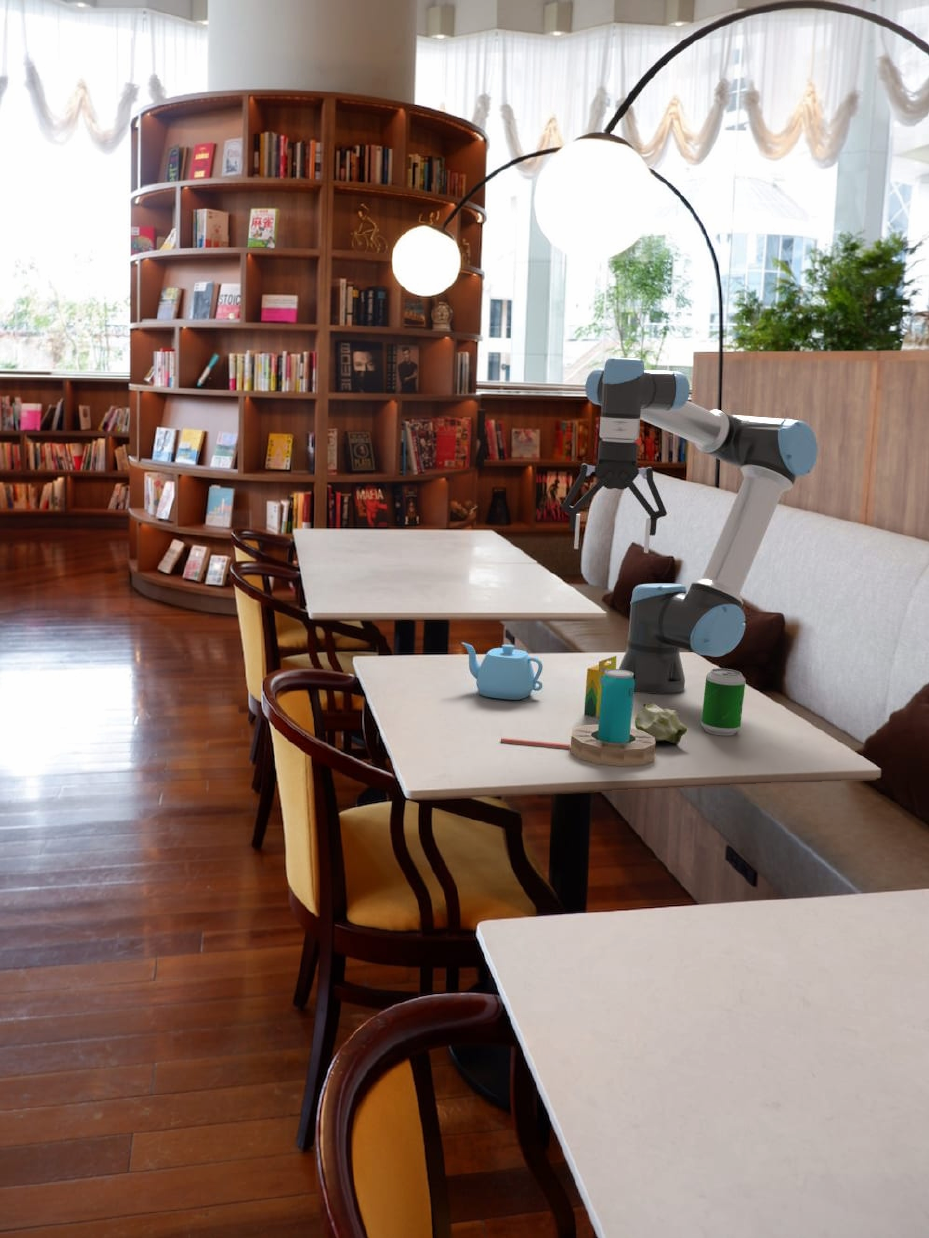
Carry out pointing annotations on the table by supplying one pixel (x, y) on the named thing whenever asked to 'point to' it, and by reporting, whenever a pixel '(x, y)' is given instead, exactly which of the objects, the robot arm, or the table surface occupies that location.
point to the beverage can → (616, 706)
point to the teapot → (505, 673)
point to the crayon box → (596, 686)
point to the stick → (535, 743)
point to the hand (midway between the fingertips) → (610, 550)
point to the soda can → (723, 701)
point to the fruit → (660, 723)
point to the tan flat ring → (612, 747)
